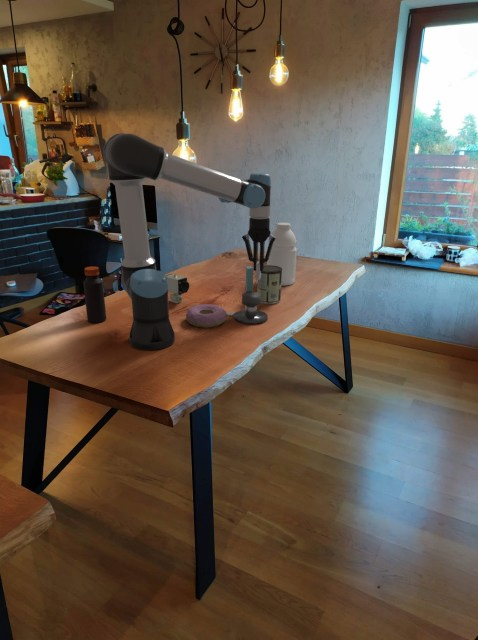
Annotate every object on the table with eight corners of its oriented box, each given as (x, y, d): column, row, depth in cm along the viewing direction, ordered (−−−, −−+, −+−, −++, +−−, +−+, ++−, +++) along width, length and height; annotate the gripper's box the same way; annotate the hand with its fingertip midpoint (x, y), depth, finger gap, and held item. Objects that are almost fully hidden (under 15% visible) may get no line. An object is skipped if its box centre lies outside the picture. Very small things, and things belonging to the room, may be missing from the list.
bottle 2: (265, 277, 226) (268, 220, 216) (293, 278, 226) (297, 221, 216) (266, 285, 213) (268, 225, 203) (295, 286, 213) (300, 226, 203)
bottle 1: (86, 324, 166) (80, 271, 158) (88, 317, 172) (82, 266, 165) (105, 323, 167) (100, 270, 160) (107, 316, 173) (102, 265, 166)
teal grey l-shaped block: (261, 305, 169) (262, 276, 165) (242, 306, 168) (243, 276, 164) (257, 294, 181) (258, 266, 177) (239, 294, 181) (240, 266, 177)
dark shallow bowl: (260, 326, 166) (261, 311, 164) (219, 319, 172) (219, 304, 170) (272, 315, 177) (272, 300, 175) (233, 308, 183) (233, 294, 181)
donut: (185, 314, 177) (185, 302, 175) (224, 313, 179) (224, 301, 177) (186, 330, 163) (186, 317, 161) (228, 329, 164) (228, 316, 163)
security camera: (182, 306, 185) (181, 278, 180) (162, 300, 191) (160, 272, 187) (191, 303, 189) (191, 275, 185) (171, 297, 196) (170, 270, 191)
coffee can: (266, 294, 201) (268, 263, 196) (285, 300, 194) (287, 268, 189) (251, 300, 194) (252, 268, 189) (270, 306, 187) (271, 273, 182)
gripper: (278, 216, 169) (276, 277, 178) (245, 214, 172) (244, 275, 181) (275, 219, 162) (273, 282, 171) (240, 218, 165) (239, 280, 174)
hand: (258, 278), depth 176 cm, fingers closed
